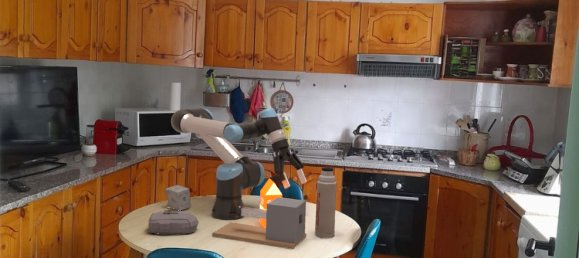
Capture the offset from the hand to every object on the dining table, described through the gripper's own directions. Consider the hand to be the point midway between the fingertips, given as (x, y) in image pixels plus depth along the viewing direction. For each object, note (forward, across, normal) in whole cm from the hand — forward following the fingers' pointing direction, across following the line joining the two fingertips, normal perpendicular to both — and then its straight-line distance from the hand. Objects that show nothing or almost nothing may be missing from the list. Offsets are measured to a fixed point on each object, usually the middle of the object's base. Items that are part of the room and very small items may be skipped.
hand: (296, 185), depth 235 cm
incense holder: (-12, -19, +55) cm, 59 cm away
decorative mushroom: (+3, +18, +28) cm, 33 cm away
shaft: (+9, -28, +4) cm, 30 cm away
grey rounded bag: (0, -44, +35) cm, 56 cm away
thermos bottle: (+24, -9, -10) cm, 28 cm away
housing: (+15, -28, +7) cm, 32 cm away
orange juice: (+12, -12, +12) cm, 21 cm away
